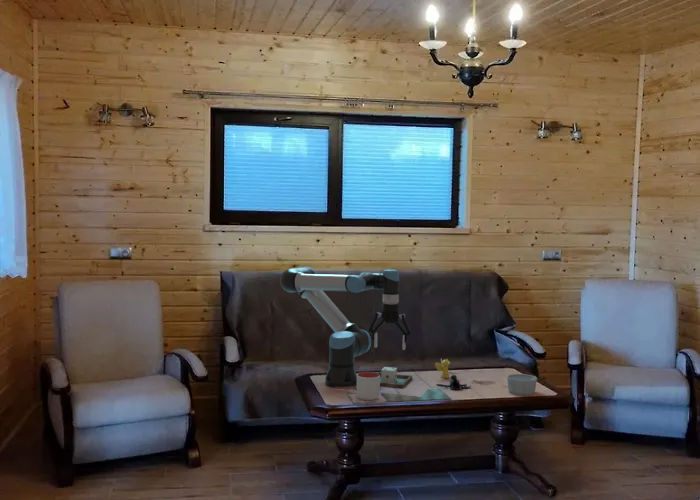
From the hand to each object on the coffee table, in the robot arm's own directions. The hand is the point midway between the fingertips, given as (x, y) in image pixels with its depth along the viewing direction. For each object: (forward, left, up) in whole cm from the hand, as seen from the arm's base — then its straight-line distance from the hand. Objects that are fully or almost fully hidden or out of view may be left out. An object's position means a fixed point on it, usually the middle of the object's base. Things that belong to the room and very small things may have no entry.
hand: (389, 348), depth 333 cm
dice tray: (0, 0, -16) cm, 16 cm away
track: (+10, -21, -16) cm, 28 cm away
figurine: (+25, +20, -16) cm, 36 cm away
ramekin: (+60, +6, -16) cm, 62 cm away
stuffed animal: (+30, +3, -17) cm, 34 cm away
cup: (-2, -28, -16) cm, 33 cm away
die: (0, 0, -16) cm, 16 cm away
